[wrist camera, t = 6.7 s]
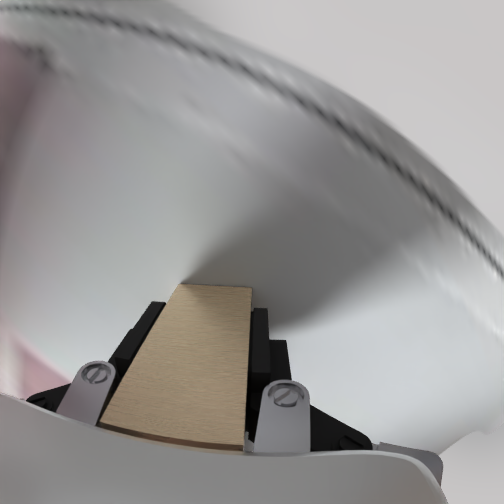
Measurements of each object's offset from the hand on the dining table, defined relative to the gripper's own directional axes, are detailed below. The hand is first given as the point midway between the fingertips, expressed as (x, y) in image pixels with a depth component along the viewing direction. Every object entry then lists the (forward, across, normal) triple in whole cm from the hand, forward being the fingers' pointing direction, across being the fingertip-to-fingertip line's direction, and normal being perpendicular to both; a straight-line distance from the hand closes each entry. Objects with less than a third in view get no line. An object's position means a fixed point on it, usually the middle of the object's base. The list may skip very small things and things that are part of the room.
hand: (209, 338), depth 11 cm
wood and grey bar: (+2, 0, +11) cm, 11 cm away
